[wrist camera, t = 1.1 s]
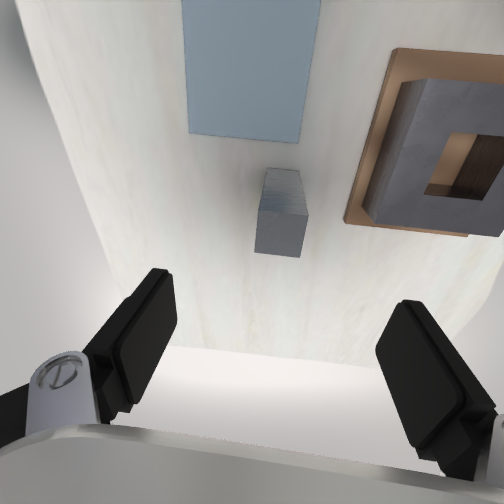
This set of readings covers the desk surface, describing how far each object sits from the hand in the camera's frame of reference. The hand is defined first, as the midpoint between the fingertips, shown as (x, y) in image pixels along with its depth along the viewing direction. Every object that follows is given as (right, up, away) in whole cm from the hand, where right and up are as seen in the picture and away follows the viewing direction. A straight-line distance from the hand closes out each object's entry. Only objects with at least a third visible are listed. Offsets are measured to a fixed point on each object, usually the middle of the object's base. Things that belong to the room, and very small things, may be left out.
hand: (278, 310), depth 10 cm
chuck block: (+15, +11, +11) cm, 21 cm away
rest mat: (-1, +17, +10) cm, 20 cm away
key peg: (+2, +9, +14) cm, 17 cm away
